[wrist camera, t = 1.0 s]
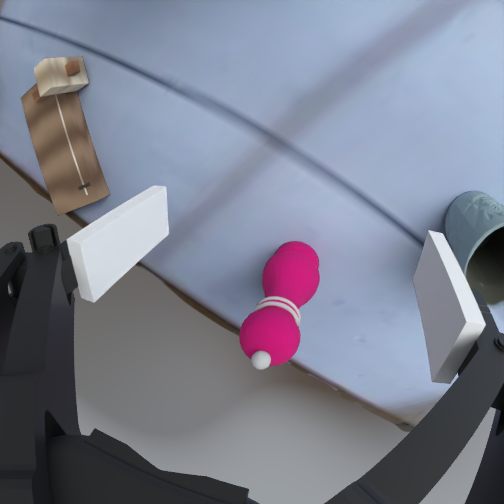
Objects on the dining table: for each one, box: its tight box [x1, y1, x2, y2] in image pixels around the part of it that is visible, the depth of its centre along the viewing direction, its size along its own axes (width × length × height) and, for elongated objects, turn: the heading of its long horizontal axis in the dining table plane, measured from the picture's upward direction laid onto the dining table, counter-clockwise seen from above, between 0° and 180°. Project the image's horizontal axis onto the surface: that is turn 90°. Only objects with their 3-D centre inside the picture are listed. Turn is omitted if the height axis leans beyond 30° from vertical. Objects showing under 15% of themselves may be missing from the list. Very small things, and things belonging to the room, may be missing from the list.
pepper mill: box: [239, 241, 320, 369], centre depth 36 cm, size 7×7×20 cm
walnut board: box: [21, 83, 110, 216], centre depth 45 cm, size 24×12×3 cm, turn 16°
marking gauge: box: [32, 57, 89, 104], centre depth 37 cm, size 5×11×8 cm, turn 106°
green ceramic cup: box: [445, 191, 504, 308], centre depth 30 cm, size 10×10×12 cm
